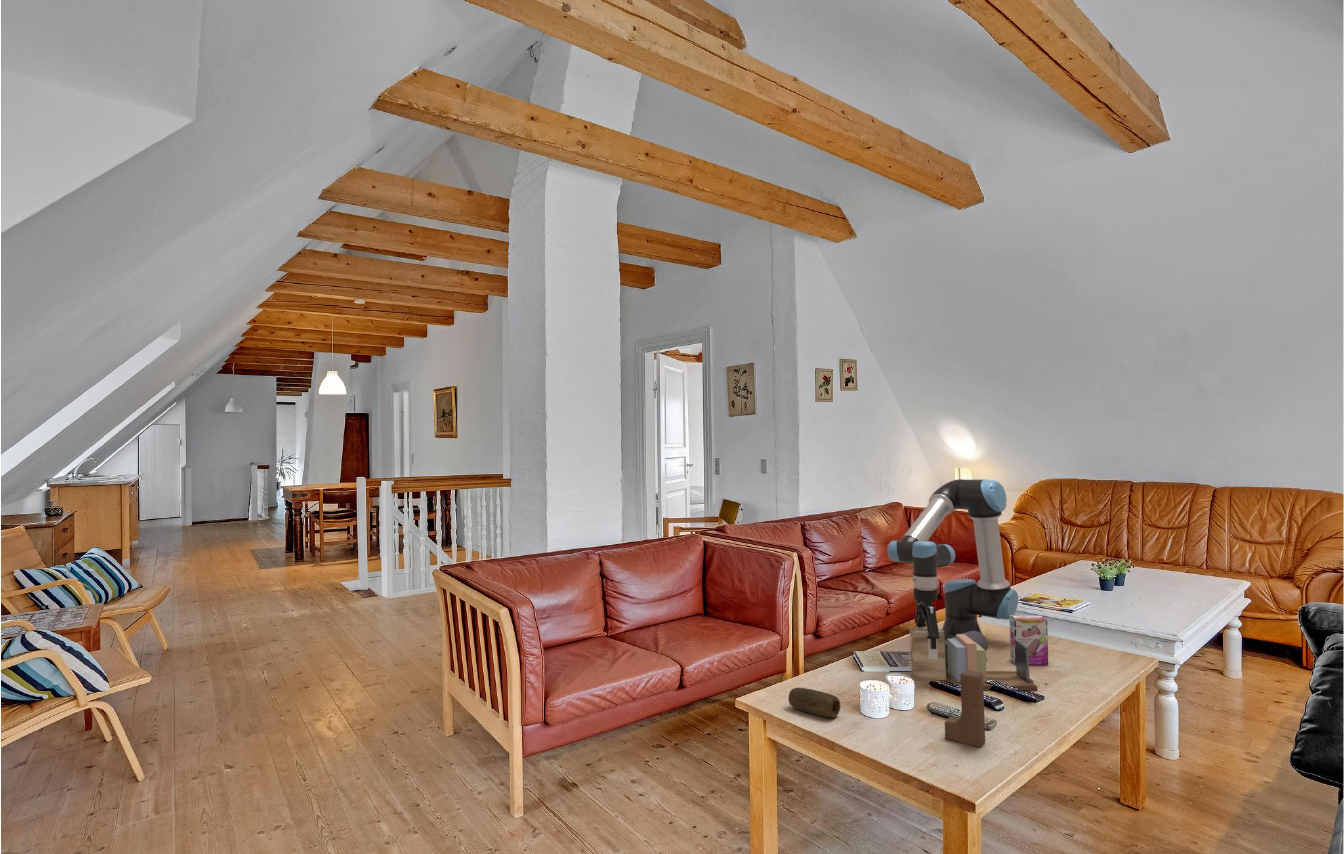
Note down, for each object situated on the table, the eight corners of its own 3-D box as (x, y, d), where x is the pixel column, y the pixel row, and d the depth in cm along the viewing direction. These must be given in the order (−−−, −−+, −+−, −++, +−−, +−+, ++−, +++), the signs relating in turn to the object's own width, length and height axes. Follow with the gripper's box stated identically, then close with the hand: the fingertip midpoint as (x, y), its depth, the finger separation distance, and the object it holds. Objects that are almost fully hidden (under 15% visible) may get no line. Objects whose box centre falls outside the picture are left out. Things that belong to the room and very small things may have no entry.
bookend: (1016, 674, 220) (1015, 640, 220) (1022, 674, 220) (1021, 640, 220) (1027, 682, 212) (1025, 647, 212) (1033, 682, 212) (1032, 647, 212)
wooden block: (944, 738, 176) (942, 670, 177) (950, 733, 180) (947, 665, 180) (980, 748, 171) (978, 677, 171) (985, 741, 174) (983, 672, 175)
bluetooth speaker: (961, 674, 225) (959, 645, 225) (934, 668, 232) (933, 639, 232) (990, 659, 240) (989, 631, 240) (964, 654, 247) (963, 626, 247)
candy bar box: (1016, 665, 233) (1014, 618, 233) (1010, 661, 238) (1008, 614, 238) (1049, 666, 232) (1047, 618, 232) (1043, 661, 237) (1041, 614, 237)
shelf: (944, 675, 225) (944, 670, 225) (1018, 675, 223) (1018, 671, 223) (958, 689, 211) (957, 685, 211) (1037, 690, 209) (1037, 686, 209)
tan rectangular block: (911, 675, 225) (909, 627, 226) (941, 675, 224) (940, 627, 225) (914, 680, 221) (913, 631, 221) (946, 680, 220) (944, 631, 220)
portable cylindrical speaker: (843, 715, 194) (842, 691, 194) (832, 722, 188) (831, 699, 189) (797, 703, 203) (797, 681, 204) (786, 710, 198) (785, 687, 198)
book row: (948, 671, 224) (946, 634, 224) (975, 671, 223) (974, 634, 223) (958, 682, 213) (957, 643, 213) (988, 683, 212) (986, 643, 212)
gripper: (904, 581, 236) (906, 641, 235) (924, 595, 211) (926, 663, 211) (926, 581, 236) (928, 641, 235) (948, 596, 211) (950, 664, 210)
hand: (927, 652), depth 223 cm, fingers open, 13 cm apart
